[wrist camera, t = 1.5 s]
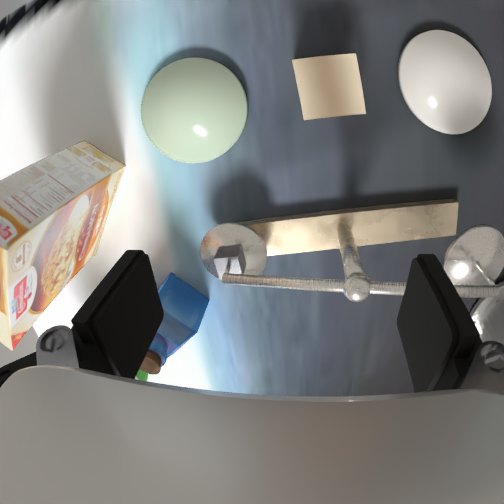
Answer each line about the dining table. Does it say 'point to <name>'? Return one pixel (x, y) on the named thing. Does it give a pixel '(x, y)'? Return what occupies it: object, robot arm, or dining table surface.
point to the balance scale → (347, 238)
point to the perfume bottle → (174, 321)
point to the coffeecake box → (50, 230)
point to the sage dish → (194, 110)
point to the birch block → (329, 86)
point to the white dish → (444, 81)
